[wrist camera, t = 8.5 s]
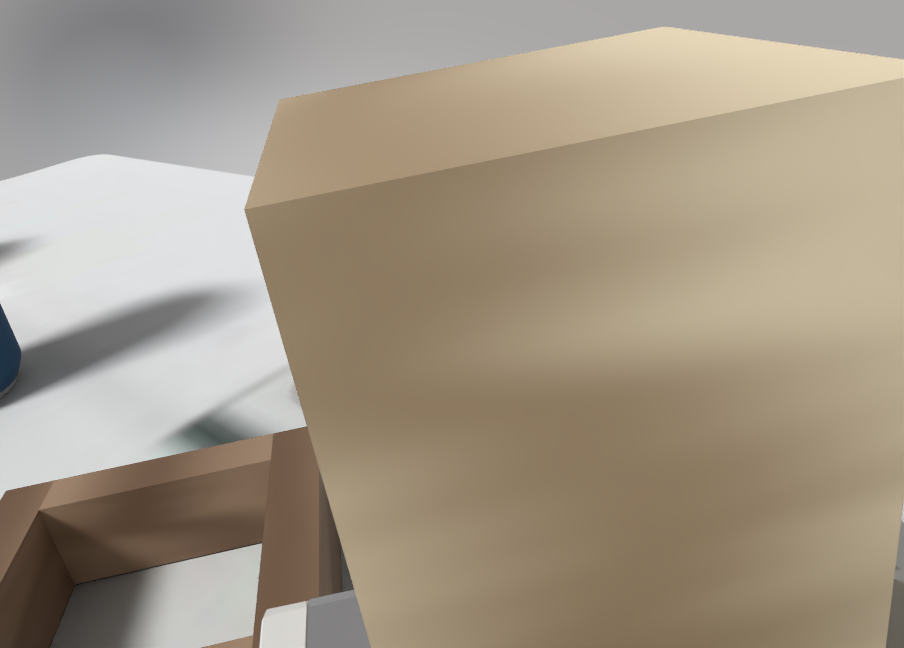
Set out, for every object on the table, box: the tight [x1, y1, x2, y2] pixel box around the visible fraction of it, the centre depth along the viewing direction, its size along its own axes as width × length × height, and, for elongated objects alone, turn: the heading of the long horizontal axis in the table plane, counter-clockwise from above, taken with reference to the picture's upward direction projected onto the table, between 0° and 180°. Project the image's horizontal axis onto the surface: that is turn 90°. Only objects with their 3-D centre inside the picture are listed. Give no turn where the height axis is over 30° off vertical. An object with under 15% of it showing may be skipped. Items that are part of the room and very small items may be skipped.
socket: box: [0, 427, 342, 648], centre depth 21 cm, size 10×10×3 cm
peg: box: [244, 27, 904, 648], centre depth 8 cm, size 4×4×12 cm
